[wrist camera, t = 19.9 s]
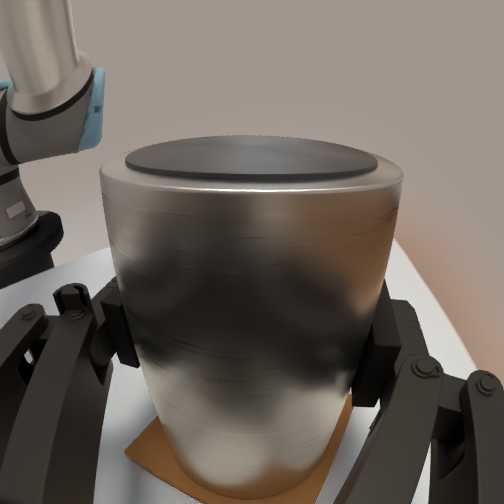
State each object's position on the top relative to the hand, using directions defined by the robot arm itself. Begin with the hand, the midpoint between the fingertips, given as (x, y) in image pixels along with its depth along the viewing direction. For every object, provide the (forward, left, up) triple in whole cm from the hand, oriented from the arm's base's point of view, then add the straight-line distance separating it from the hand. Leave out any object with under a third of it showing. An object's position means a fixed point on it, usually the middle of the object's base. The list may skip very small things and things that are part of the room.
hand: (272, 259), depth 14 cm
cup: (+1, -5, -7) cm, 8 cm away
